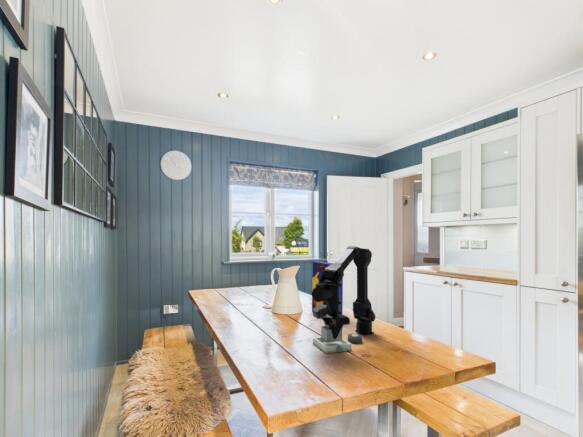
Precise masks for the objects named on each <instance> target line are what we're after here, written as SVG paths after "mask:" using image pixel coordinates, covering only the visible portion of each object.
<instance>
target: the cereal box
mask: <svg viewBox="0 0 583 437" xmlns="http://www.w3.org/2000/svg"><path fill="white" fill-rule="evenodd" d="M334 263H335V262H328V261H320V260H314V261H312V274H311V275H312V276H311V277H312V278H311V279H312V280H311V282H312V285H311V287H312V288H311V290H312V291H313V289H314V288H316V284H318V283H319V281H320V278H321V276H322V274H323V271H324V269H325V268H326V267H328V266H329V265H332V264H334ZM343 278H344V277H343ZM343 278H342V279H341V281H340V282H339V283H340V284H341V285H342V287H339V301H341V304H339V311H340V312H341V314H339V315H343V307H344V306H343V302H344V301H343V300H344V299H343V294H344V292H343V288H344V286H343V285H344V279H343ZM312 291H311V292H312ZM322 304H323V301H322V302H316V301H314V299H313V298H312V297H311V310H312V309H313V308H315V307H317V306H319V305H322Z"/></svg>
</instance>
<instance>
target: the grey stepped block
mask: <svg viewBox="0 0 583 437" xmlns="http://www.w3.org/2000/svg"><path fill="white" fill-rule="evenodd" d="M320 337H321V339H322V340H324V341H325V342H327V343H329V342H337V341H342V338H343V328H342V329H341V330H340V332H339V334H338V336H337V338H336V339H334V337H333V328H332V325H331V324H324V326H321V336H320Z"/></svg>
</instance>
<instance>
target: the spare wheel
mask: <svg viewBox="0 0 583 437" xmlns="http://www.w3.org/2000/svg"><path fill="white" fill-rule="evenodd" d="M347 341H348V342H349V343H351V344H354V345H355V344H356V345H358V344H362V343H363V335H362V334H360V333H348V335H347Z"/></svg>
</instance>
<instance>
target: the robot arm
mask: <svg viewBox="0 0 583 437" xmlns="http://www.w3.org/2000/svg"><path fill="white" fill-rule="evenodd" d="M372 255H373V254H372V251H371V250H370V249H369V248H361V247H358V246H354V245H353V246H352V245H351V246H350V245H349V246H347V247H346V249H345V251H344V252H343V253H342V255H340V257H339V258H338V259H337V260H336V261H335V262H333V263H334V264H332V265H329V266H328V267H326V268H325V269H324V271H323V274H322V276H321V278H320V281H319V283H318V284H316V288H314V289H313V291H311V299H312V298H313V299H314V301H316V302H322V301H323V304H322V305H319V306H317V307H315V308H313V309H312V308H311V313H312V314H313V317H314V318H316V319H318V320H319V319H321V320H322V321H323V322H324V325H325V324H331V325H332V328H333V337H334V339H336V338H337V336H338V334H339V332H340V330H341V329H342V330H343V326H345V325H350V324H351V319H350V318H349V317H348V316H347V315H345V314H342V315H339V314H341V312H340V311H339V304H341V301H339V287H342V285H341V284H340V283H339V282H340V281H341V279H342V278H344V276H345V273H344V272H345V270H346V269H347V268H348V266H349V265H350V264H351V263H352V261H353V263H354V265H355V266H356V299H355V300H354V301H353V302H352V312H353V314H352V315H353V317H354V319H356V326H355V327H356V329H355V330H354V331H355V332H356V333H357V334H359V335H361V336H365V335H374V334H375V332H374V331H373V322H375V321H376V314H375V312H374V310H373V309H372V308H373V307H372V303H371V302H370V299H369V293H368V292H369V291H368V290H369V287H368V284H369V282H368V279H369V278H368V277H369V276H368V270H369V269H368V268H369V265H370V264H371V261H372V257H373V256H372Z"/></svg>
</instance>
